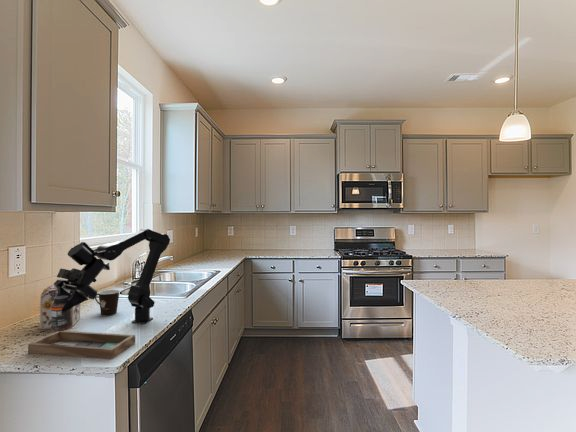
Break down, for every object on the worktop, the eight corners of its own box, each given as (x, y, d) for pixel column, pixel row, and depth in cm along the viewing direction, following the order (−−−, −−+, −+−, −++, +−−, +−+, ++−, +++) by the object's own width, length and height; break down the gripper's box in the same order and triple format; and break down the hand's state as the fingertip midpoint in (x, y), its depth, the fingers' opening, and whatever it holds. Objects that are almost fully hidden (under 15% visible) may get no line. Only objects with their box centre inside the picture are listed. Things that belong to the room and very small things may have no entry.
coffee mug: (122, 313, 155) (122, 292, 155) (102, 317, 148) (102, 295, 148) (112, 308, 163) (112, 288, 162) (93, 312, 156) (93, 290, 156)
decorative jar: (49, 320, 143) (49, 279, 143) (80, 318, 147) (80, 277, 147) (39, 330, 132) (39, 284, 132) (73, 327, 136) (73, 283, 136)
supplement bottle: (68, 324, 121) (68, 293, 121) (74, 328, 117) (74, 296, 117) (48, 329, 116) (48, 297, 116) (54, 333, 112) (54, 300, 112)
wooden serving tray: (59, 338, 124) (59, 330, 124) (135, 343, 120) (135, 335, 120) (28, 353, 111) (28, 344, 111) (111, 359, 107) (111, 349, 107)
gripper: (59, 257, 124) (24, 293, 115) (88, 261, 115) (53, 301, 106) (81, 275, 131) (50, 310, 122) (110, 280, 122) (79, 318, 113)
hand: (57, 309), depth 115 cm, fingers closed on supplement bottle, 6 cm apart
